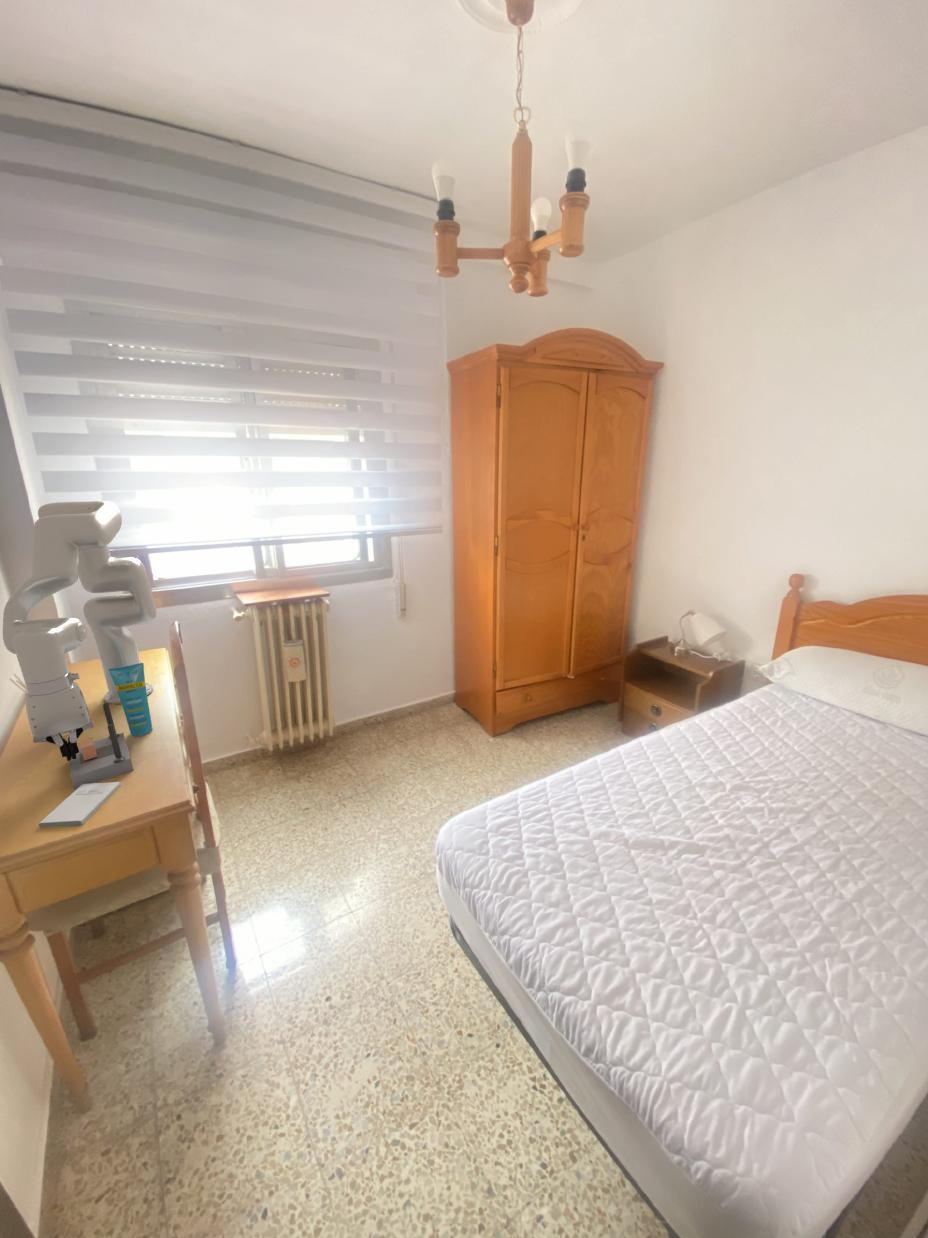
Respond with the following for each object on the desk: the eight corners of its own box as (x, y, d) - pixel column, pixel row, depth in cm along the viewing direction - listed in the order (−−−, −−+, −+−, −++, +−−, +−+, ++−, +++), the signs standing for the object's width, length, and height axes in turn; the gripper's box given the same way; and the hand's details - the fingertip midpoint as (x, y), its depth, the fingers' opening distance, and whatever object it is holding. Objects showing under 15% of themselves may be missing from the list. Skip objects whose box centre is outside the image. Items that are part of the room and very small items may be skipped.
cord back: (110, 733, 122) (102, 703, 120) (115, 731, 123) (107, 701, 120) (110, 735, 121) (102, 704, 119) (116, 733, 122) (108, 703, 120)
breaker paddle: (83, 753, 115) (79, 741, 114) (95, 749, 117) (92, 737, 116) (84, 760, 112) (80, 748, 111) (97, 756, 114) (93, 744, 113)
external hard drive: (40, 829, 96) (83, 789, 108) (83, 827, 97) (121, 787, 109) (37, 823, 96) (81, 783, 108) (81, 820, 96) (119, 781, 108)
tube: (125, 740, 126) (107, 672, 121) (125, 732, 130) (108, 665, 124) (159, 731, 130) (143, 664, 124) (158, 724, 134) (142, 659, 128)
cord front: (115, 756, 112) (106, 724, 110) (121, 754, 113) (113, 722, 110) (116, 759, 111) (107, 726, 109) (122, 757, 112) (113, 724, 110)
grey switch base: (72, 758, 119) (68, 747, 118) (125, 742, 125) (123, 731, 124) (74, 790, 107) (70, 777, 106) (133, 770, 114) (130, 758, 113)
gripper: (91, 669, 114) (110, 739, 119) (5, 688, 105) (30, 762, 111) (92, 680, 108) (112, 752, 114) (2, 700, 99) (28, 778, 105)
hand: (71, 757), depth 112 cm, fingers closed
